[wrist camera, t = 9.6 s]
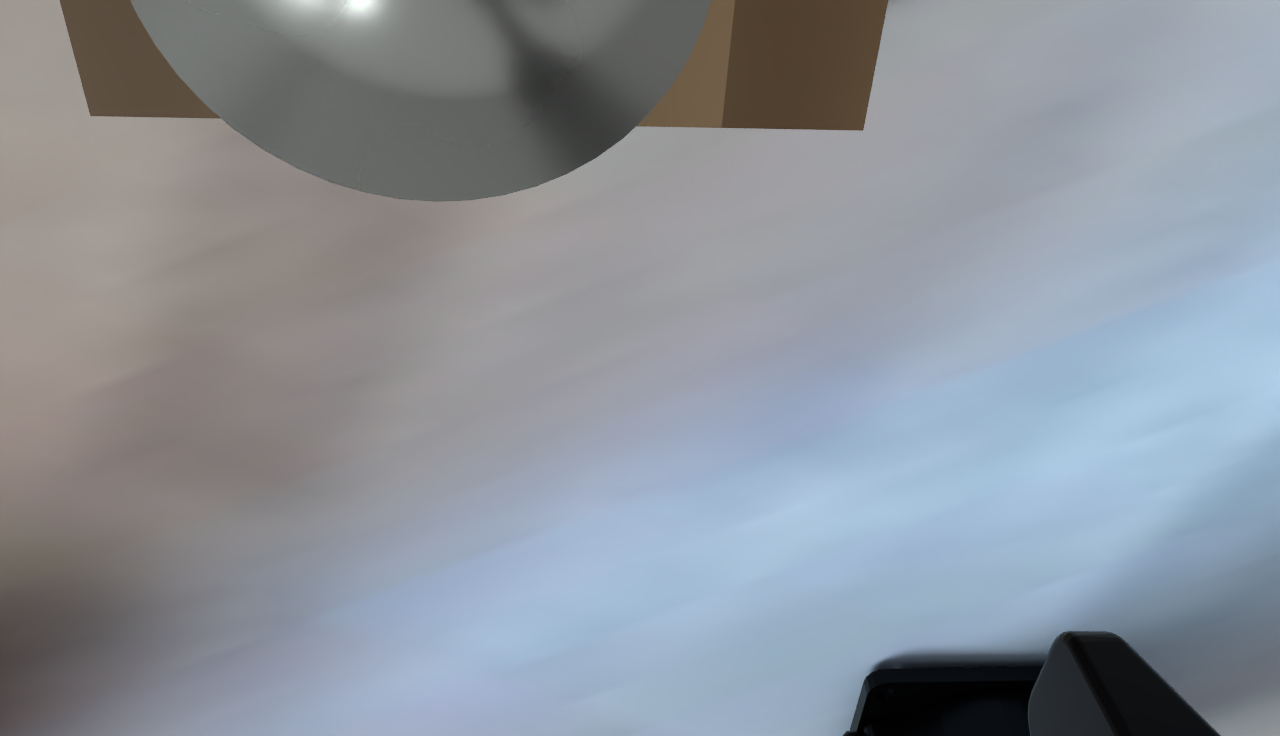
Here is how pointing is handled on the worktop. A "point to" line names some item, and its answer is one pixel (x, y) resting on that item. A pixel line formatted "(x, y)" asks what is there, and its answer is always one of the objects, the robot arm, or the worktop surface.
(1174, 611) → the worktop surface
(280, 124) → the grey cylinder
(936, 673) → the robot arm
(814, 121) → the brown wooden square frame
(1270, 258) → the worktop surface
